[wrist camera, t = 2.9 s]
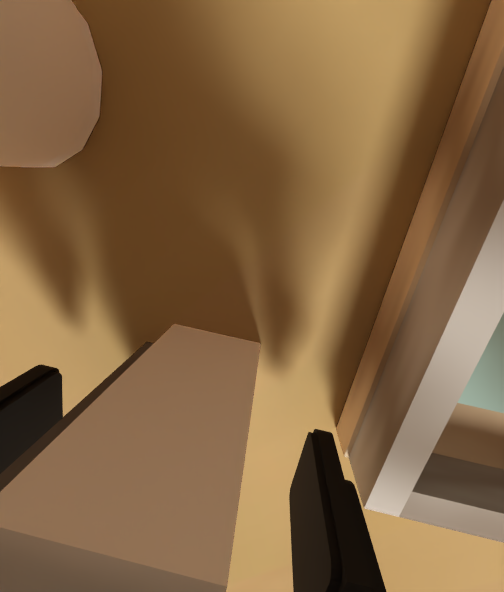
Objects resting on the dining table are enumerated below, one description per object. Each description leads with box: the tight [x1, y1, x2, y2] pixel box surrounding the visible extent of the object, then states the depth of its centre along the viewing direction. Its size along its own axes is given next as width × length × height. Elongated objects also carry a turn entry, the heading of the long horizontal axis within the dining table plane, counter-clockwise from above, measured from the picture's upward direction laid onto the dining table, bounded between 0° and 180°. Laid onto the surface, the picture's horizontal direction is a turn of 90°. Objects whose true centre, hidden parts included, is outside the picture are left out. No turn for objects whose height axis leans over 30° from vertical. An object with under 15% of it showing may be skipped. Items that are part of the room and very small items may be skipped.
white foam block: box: [0, 324, 261, 592], centre depth 8 cm, size 4×5×8 cm
